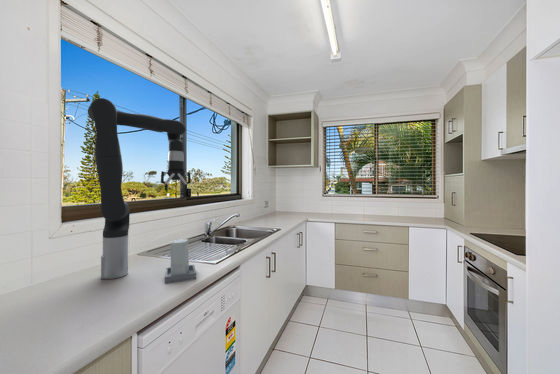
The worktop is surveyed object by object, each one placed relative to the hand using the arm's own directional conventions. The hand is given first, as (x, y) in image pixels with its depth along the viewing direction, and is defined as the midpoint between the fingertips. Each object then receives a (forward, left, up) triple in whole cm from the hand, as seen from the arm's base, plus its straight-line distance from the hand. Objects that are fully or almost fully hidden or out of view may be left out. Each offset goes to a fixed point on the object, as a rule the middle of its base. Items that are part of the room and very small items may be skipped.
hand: (176, 191), depth 126 cm
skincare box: (+2, -23, -36) cm, 43 cm away
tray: (+2, -23, -36) cm, 43 cm away
